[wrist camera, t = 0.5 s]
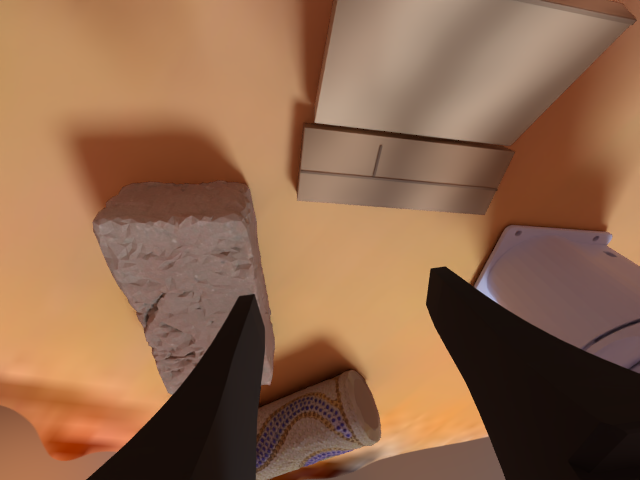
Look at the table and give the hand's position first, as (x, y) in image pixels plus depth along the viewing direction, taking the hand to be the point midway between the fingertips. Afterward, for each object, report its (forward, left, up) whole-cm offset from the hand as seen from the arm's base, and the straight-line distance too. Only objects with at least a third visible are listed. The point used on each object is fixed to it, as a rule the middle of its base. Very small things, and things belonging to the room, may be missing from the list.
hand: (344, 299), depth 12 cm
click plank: (-5, -9, -7) cm, 12 cm away
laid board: (-5, -3, -9) cm, 11 cm away
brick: (+8, +8, -10) cm, 15 cm away
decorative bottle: (+3, +26, -10) cm, 28 cm away
